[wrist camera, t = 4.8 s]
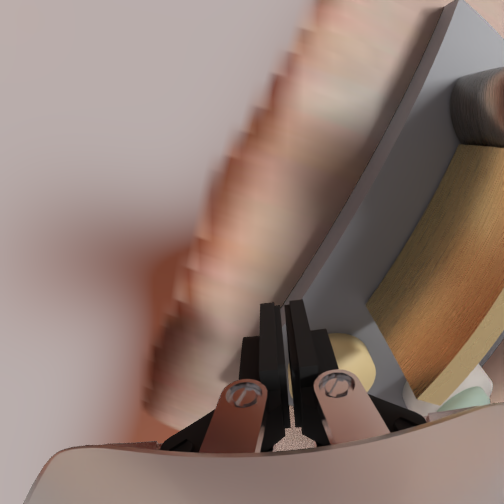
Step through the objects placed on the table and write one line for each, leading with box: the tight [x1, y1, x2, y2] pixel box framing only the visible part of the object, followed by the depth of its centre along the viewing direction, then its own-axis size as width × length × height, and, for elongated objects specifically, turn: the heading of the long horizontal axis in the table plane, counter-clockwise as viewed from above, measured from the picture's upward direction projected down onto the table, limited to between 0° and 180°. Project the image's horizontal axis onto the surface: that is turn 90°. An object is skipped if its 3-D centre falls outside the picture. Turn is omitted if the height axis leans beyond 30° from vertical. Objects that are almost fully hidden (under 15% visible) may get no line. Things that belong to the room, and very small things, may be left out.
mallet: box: [365, 66, 504, 406], centre depth 9 cm, size 15×5×7 cm, turn 152°
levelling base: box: [280, 0, 504, 417], centre depth 13 cm, size 28×17×7 cm, turn 152°
